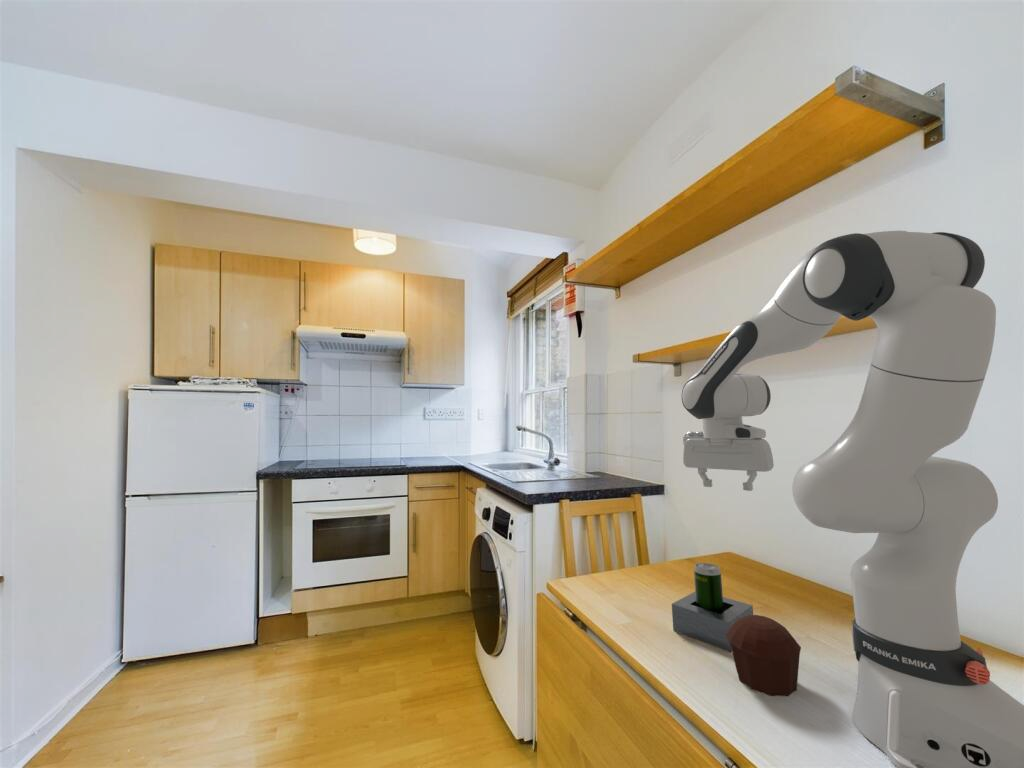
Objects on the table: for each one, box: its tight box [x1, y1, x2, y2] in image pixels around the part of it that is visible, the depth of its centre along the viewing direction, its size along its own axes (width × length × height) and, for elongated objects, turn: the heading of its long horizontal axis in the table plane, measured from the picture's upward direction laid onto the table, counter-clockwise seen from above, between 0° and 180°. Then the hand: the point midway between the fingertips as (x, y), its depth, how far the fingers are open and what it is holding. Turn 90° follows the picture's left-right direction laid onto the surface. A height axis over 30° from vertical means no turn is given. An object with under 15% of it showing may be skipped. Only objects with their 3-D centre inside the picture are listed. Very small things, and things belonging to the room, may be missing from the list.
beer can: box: [693, 562, 724, 614], centre depth 90 cm, size 5×5×12 cm
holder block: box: [671, 591, 754, 653], centre depth 90 cm, size 12×12×6 cm
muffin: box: [726, 614, 802, 697], centre depth 72 cm, size 12×11×10 cm
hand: (727, 488), depth 100 cm, fingers open, 8 cm apart
